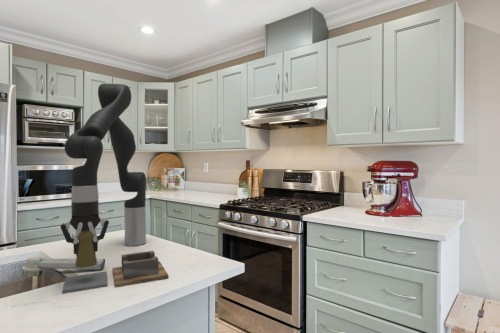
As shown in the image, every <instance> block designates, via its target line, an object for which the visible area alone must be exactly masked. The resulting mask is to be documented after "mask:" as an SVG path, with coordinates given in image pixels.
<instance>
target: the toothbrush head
mask: <svg viewBox="0 0 500 333" xmlns="http://www.w3.org/2000/svg"><path fill="white" fill-rule="evenodd" d="M96 260H97V264H96V265H93V266H90V267H83V268H79V267H76V266H75V265H76V258H42V257H39V256H30V257H28V258H27V259H26V261H25V265H23V266H22V267H21V270H22V277H26V278H34V277H39V276H42V275H43V271H44V270H45V269H56V270H58V269H59V270H77V271H78V270H80V271H81V270H82V271H91V272H92V271H103V270H104V269H105V265H106V258H98V257H96Z"/></svg>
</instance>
